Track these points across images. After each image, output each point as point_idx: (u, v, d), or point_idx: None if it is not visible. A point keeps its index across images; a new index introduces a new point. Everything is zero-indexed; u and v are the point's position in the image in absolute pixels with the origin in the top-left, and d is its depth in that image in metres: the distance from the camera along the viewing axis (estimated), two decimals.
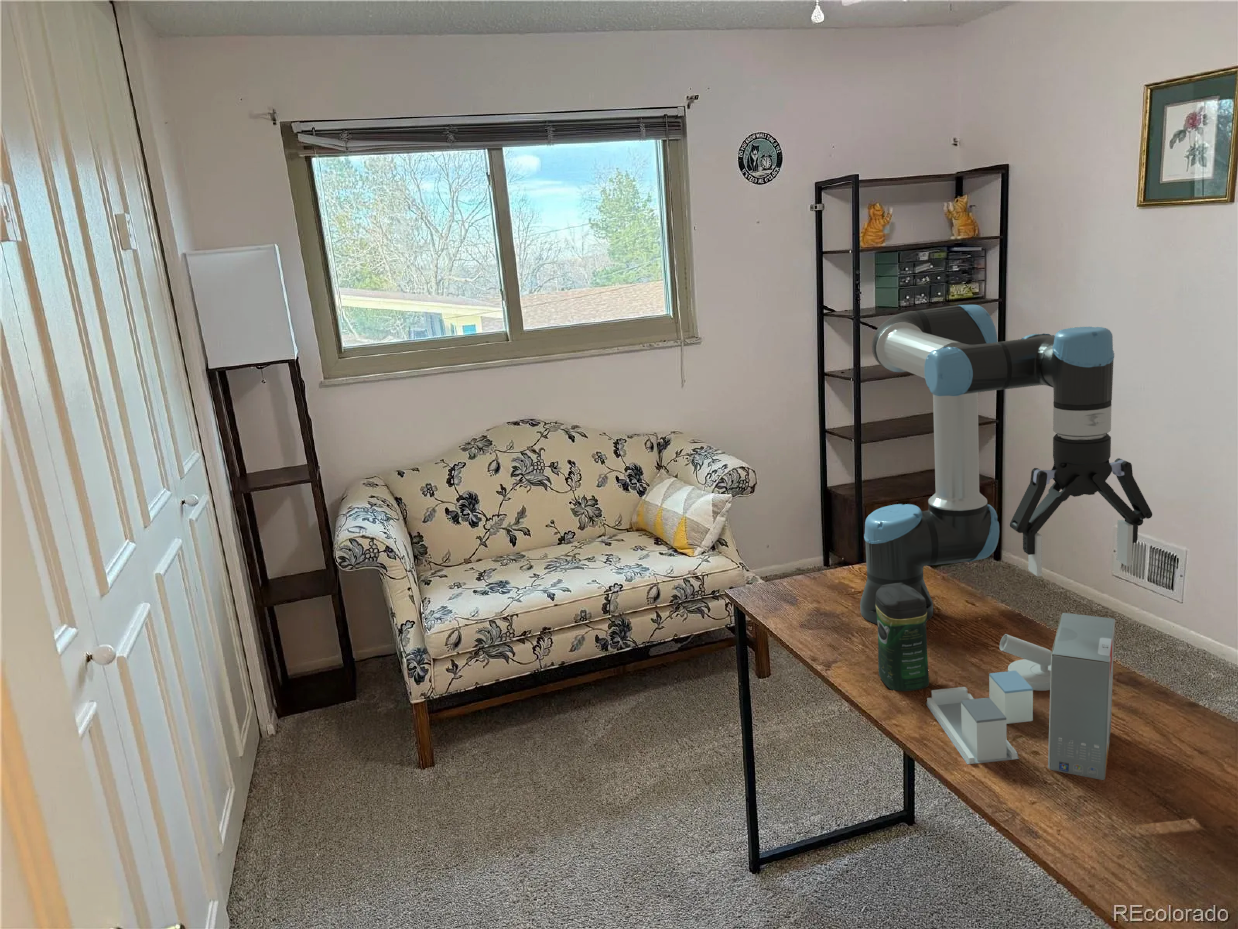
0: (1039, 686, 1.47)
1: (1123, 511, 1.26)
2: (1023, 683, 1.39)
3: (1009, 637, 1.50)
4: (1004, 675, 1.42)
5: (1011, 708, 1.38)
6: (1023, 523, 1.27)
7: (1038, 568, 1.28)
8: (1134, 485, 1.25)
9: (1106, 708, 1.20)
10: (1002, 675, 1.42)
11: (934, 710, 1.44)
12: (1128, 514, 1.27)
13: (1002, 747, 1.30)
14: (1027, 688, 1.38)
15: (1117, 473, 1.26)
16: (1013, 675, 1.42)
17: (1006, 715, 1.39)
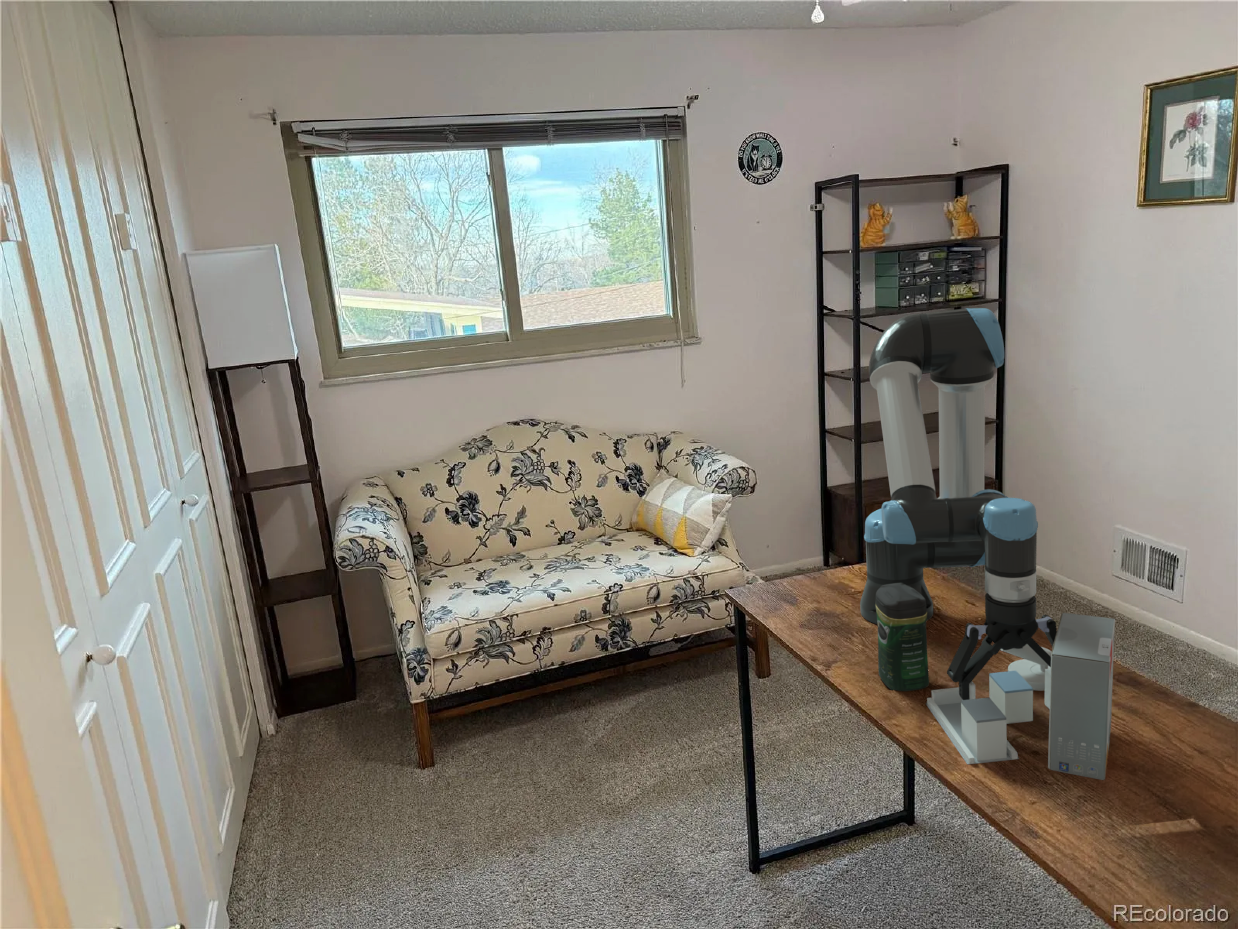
0: (1039, 686, 1.47)
1: (1048, 664, 1.38)
2: (1023, 683, 1.39)
3: None
4: (1004, 675, 1.42)
5: (1011, 708, 1.38)
6: (958, 674, 1.38)
7: None
8: None
9: (1106, 708, 1.20)
10: (1002, 675, 1.42)
11: (934, 710, 1.44)
12: None
13: (1002, 747, 1.30)
14: (1027, 688, 1.38)
15: (1043, 629, 1.37)
16: (1013, 675, 1.42)
17: (1006, 715, 1.39)
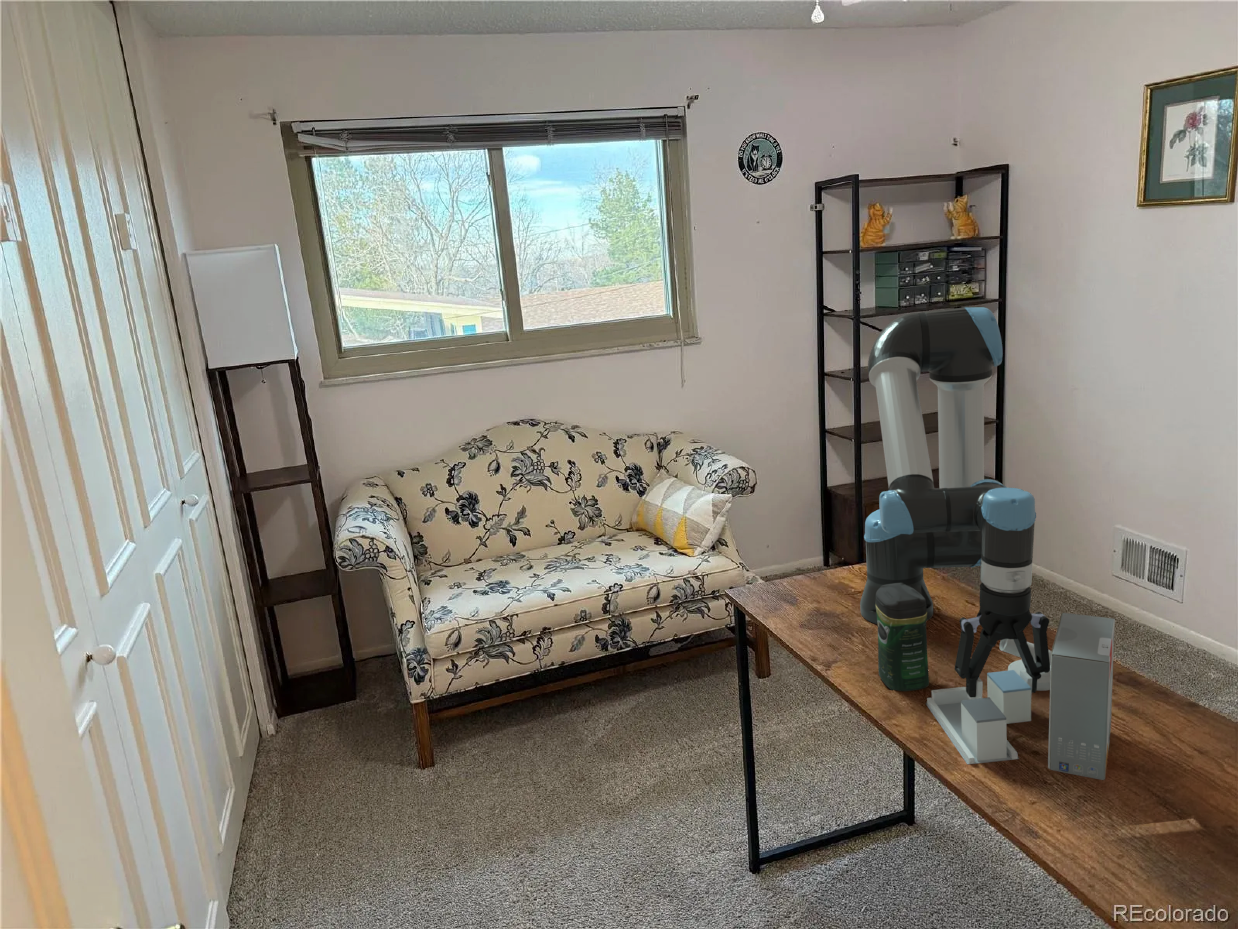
0: (1039, 686, 1.47)
1: (1027, 662, 1.38)
2: (1021, 682, 1.39)
3: None
4: (1002, 675, 1.42)
5: (1009, 707, 1.38)
6: (964, 670, 1.38)
7: None
8: (1044, 640, 1.37)
9: (1106, 708, 1.20)
10: (1000, 675, 1.42)
11: (934, 710, 1.44)
12: (1031, 666, 1.38)
13: (1002, 747, 1.30)
14: (1025, 687, 1.38)
15: (1034, 624, 1.37)
16: (1011, 674, 1.42)
17: None
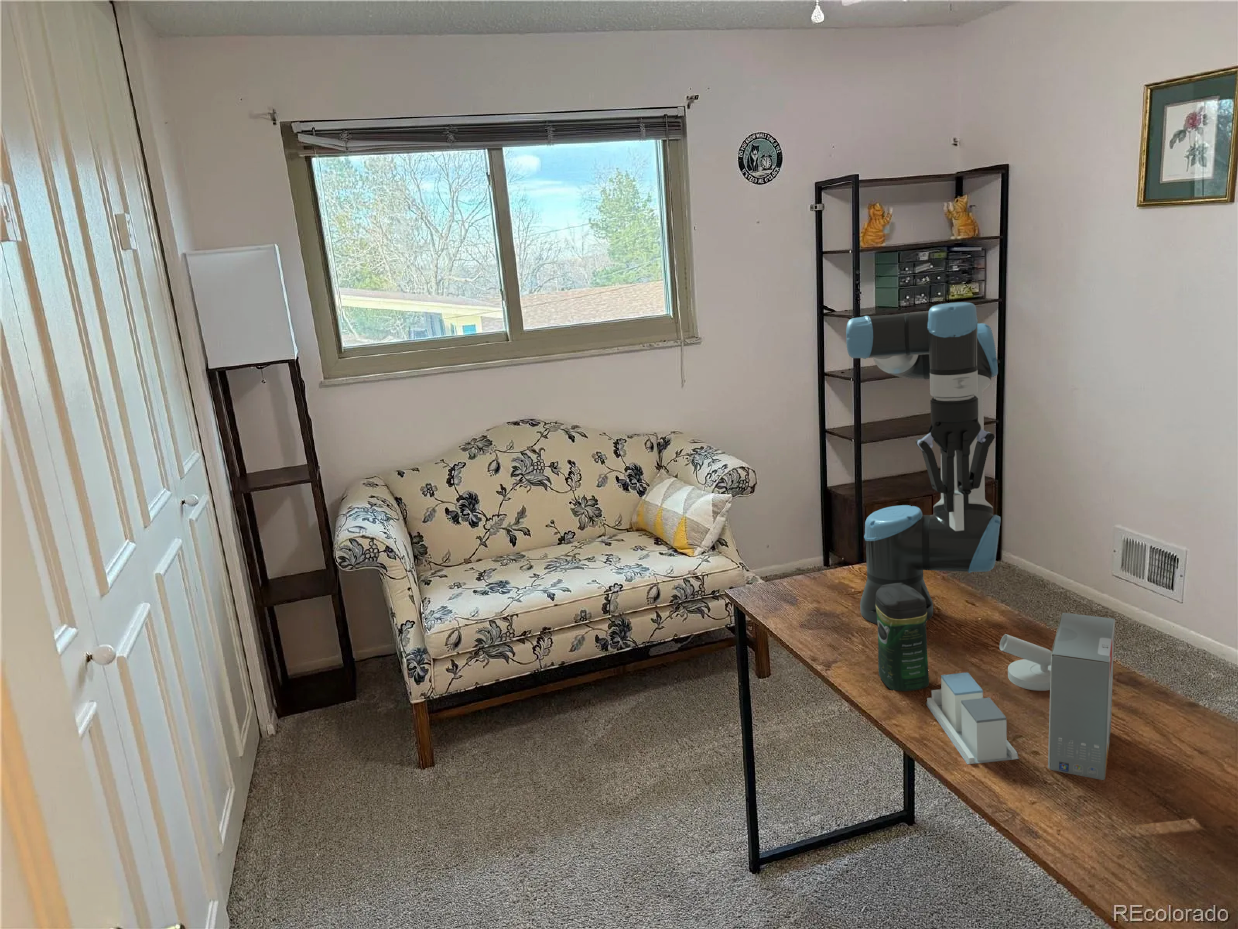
0: (1039, 686, 1.47)
1: (963, 476, 1.45)
2: (974, 685, 1.38)
3: (1009, 637, 1.50)
4: (956, 677, 1.41)
5: None
6: (938, 484, 1.45)
7: (956, 524, 1.47)
8: (984, 455, 1.44)
9: (1106, 708, 1.20)
10: (954, 677, 1.41)
11: (934, 710, 1.44)
12: (964, 481, 1.45)
13: (1002, 747, 1.30)
14: (977, 690, 1.37)
15: (980, 438, 1.44)
16: (965, 676, 1.41)
17: (956, 717, 1.38)
